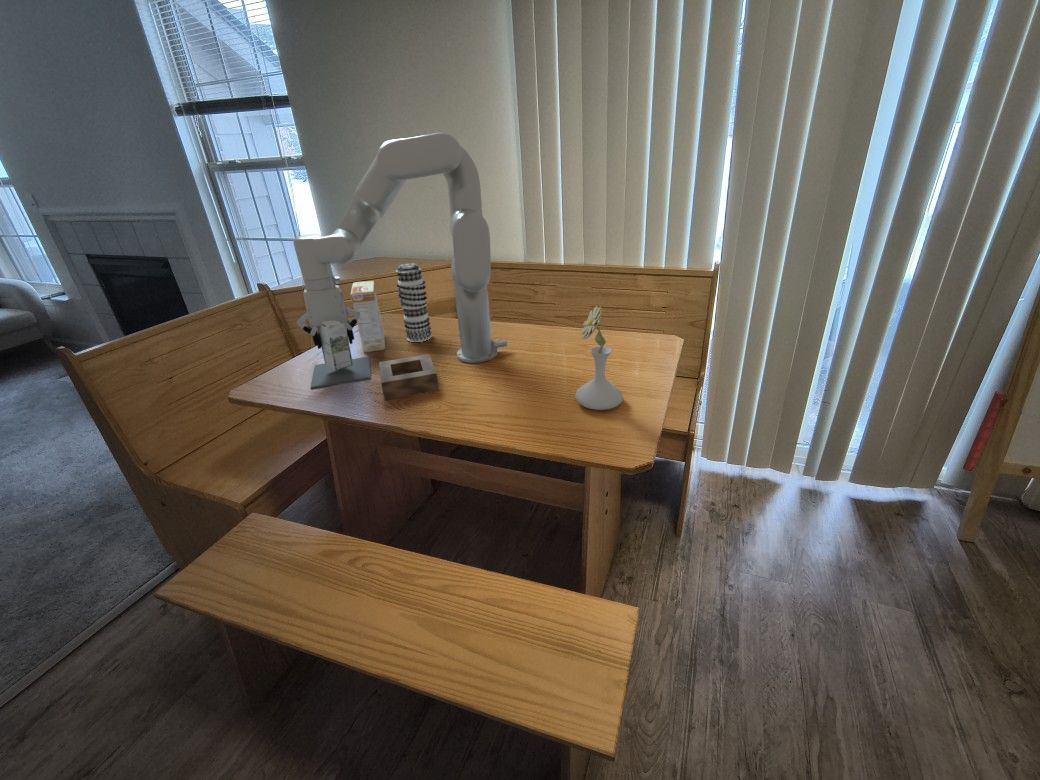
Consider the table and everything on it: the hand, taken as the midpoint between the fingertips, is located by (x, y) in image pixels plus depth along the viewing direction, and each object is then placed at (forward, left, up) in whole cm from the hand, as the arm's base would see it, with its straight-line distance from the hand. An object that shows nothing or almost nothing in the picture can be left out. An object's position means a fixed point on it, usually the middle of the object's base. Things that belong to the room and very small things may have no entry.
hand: (335, 344), depth 128 cm
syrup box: (0, 0, -7) cm, 7 cm away
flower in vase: (-60, +46, -9) cm, 76 cm away
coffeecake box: (-10, -21, -9) cm, 25 cm away
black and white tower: (-25, -19, -9) cm, 33 cm away
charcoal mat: (0, 0, -9) cm, 9 cm away
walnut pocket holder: (-18, +16, -9) cm, 26 cm away
